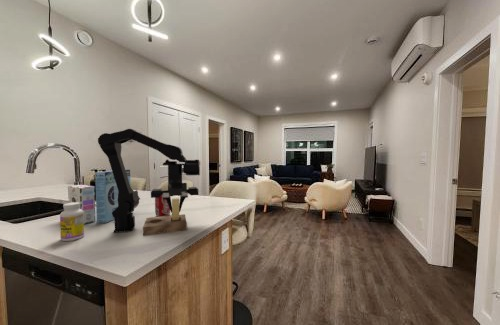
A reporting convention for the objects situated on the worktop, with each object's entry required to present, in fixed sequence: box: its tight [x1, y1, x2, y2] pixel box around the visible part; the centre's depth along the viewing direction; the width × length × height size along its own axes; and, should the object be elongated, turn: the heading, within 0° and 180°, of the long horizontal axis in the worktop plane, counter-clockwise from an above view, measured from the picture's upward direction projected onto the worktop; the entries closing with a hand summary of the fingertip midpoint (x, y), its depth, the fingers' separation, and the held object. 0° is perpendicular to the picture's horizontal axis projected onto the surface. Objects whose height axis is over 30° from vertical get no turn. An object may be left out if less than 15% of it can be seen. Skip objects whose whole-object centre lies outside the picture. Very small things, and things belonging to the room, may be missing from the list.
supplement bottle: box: [59, 202, 85, 242], centre depth 79 cm, size 7×7×13 cm
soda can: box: [154, 195, 171, 217], centre depth 108 cm, size 7×7×12 cm
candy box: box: [67, 184, 97, 225], centre depth 100 cm, size 14×6×16 cm, turn 58°
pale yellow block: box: [171, 197, 180, 220], centre depth 92 cm, size 3×5×8 cm, turn 20°
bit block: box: [142, 214, 188, 236], centre depth 91 cm, size 16×13×3 cm
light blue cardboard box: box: [94, 169, 132, 224], centre depth 106 cm, size 20×5×23 cm, turn 178°
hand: (175, 212), depth 92 cm, fingers closed on pale yellow block, 3 cm apart
